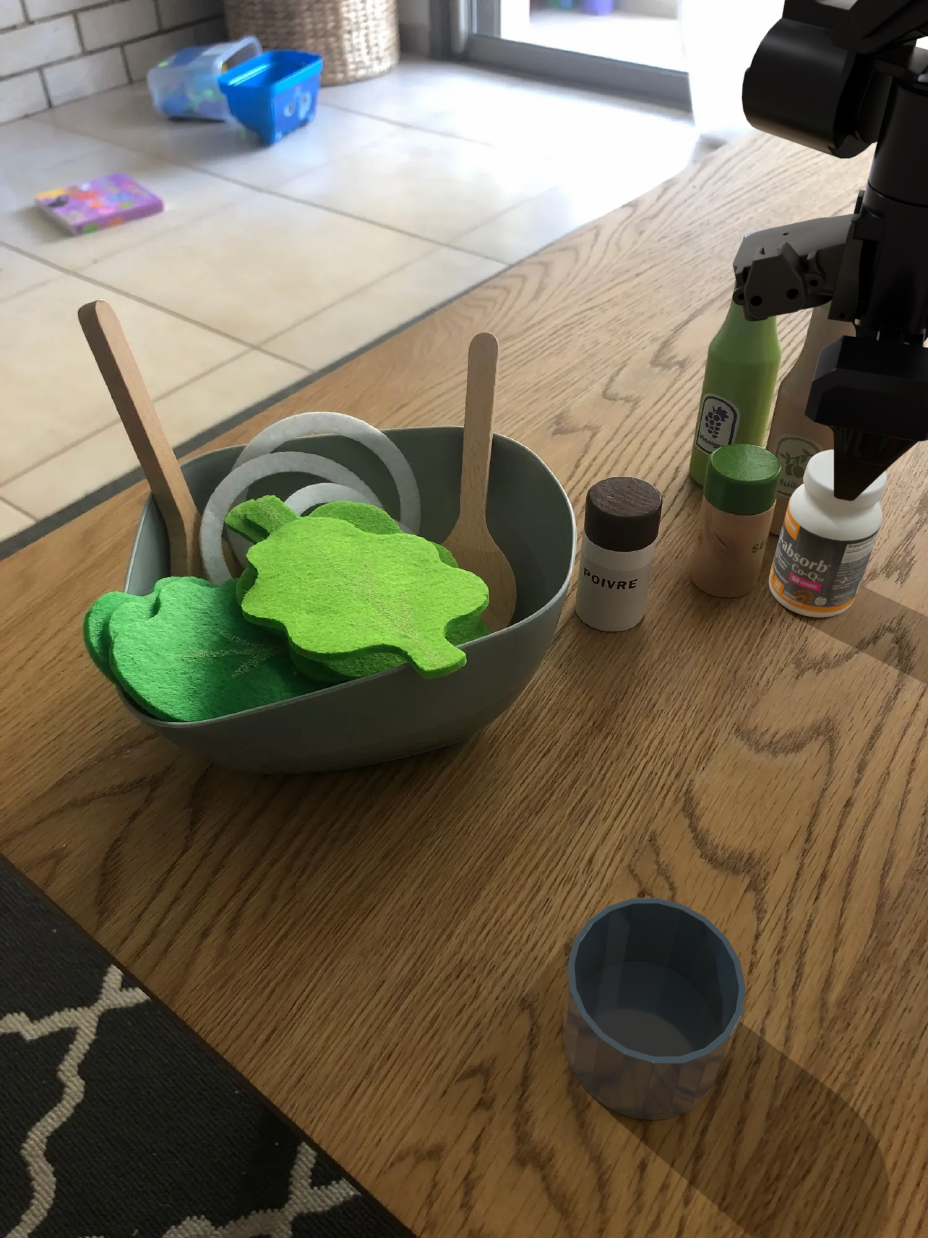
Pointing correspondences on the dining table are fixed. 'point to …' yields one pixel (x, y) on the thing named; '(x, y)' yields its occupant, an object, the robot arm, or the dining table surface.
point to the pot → (650, 1007)
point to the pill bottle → (824, 542)
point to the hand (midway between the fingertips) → (852, 453)
